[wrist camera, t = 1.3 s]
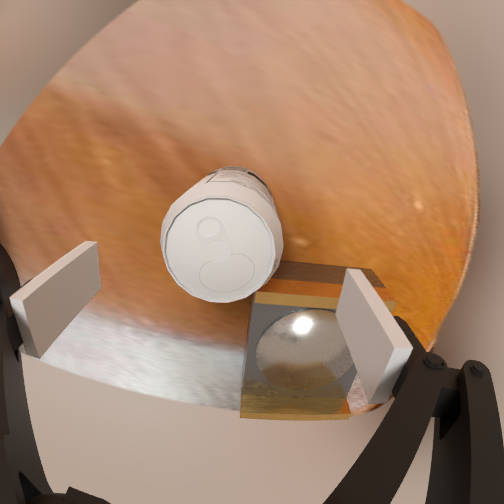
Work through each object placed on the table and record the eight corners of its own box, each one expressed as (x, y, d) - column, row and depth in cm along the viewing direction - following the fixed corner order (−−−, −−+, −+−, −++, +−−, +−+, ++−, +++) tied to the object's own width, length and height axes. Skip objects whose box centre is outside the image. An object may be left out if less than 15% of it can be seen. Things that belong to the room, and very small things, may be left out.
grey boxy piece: (242, 375, 41) (239, 417, 34) (255, 258, 35) (256, 291, 27) (336, 379, 42) (348, 419, 34) (371, 269, 35) (396, 301, 28)
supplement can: (282, 226, 34) (300, 290, 20) (211, 248, 35) (183, 322, 21) (258, 155, 31) (261, 167, 17) (185, 180, 32) (133, 213, 18)
